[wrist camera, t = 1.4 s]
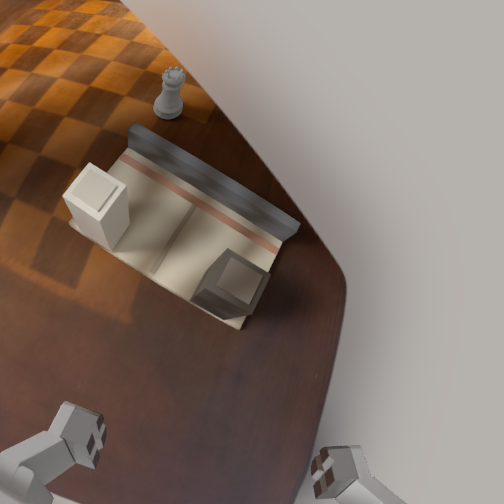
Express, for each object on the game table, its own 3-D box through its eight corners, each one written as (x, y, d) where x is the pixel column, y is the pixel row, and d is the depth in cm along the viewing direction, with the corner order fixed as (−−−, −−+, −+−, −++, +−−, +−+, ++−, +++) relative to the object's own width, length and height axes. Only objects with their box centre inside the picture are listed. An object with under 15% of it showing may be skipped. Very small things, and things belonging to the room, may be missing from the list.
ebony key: (189, 300, 33) (205, 287, 24) (205, 270, 35) (228, 247, 26) (223, 320, 34) (252, 314, 25) (239, 290, 36) (272, 274, 27)
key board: (70, 225, 32) (60, 210, 27) (134, 144, 37) (135, 122, 33) (237, 329, 36) (250, 328, 31) (283, 235, 41) (300, 223, 37)
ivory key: (81, 231, 31) (61, 195, 22) (100, 204, 33) (89, 161, 24) (111, 252, 32) (99, 220, 23) (130, 223, 33) (126, 184, 24)
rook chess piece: (176, 97, 42) (185, 59, 34) (186, 117, 41) (196, 79, 34) (149, 103, 40) (154, 65, 32) (158, 124, 39) (163, 85, 32)
